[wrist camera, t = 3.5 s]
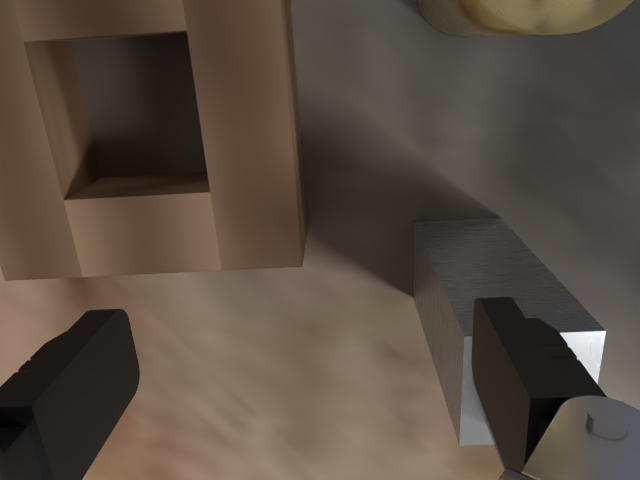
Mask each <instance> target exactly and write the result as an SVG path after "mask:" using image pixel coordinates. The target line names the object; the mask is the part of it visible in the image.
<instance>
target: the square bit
mask: <svg viewBox="0 0 640 480" xmlns="http://www.w3.org/2000/svg"><path fill="white" fill-rule="evenodd" d="M485 297H512V298H513V299H514V301H515V303H516V304H517V306H518V307H519V309H520V310H521V312H522V313H523V315H524V316H525V318H539V319H541V320H542V321H544V322H545V323H547V324H549V325H550V326H552V327H553V328H555V329H557V330H558V332H559V333H560V334H561V336H562V337H563V338H564V340H565V341H566V342H567V344H568V347H570V348H571V349H572V351H573V352H574V353H575V355H576V356H577V360H580V361H581V363H582V364H583V365H584V367H585V368H586V370H587V371H588V372H589V374H590V375H591V376H592V378H593V379H594V380H595V382H596V383H597V384H598V378H599V371H600V365H601V359H602V353H603V346H604V340H605V334H606V330H605V329H604V328H603V327H602V326H601V325H600V324H599V323H598V322H597V321H596V320H595V319H594V318H593V316H592V315H591V314H590V313H589V312H588V311H587V310H586V309H585V308H584V307H583V306H582V305H581V304H580V303H579V301H578V300H577V299H576V298H575V297H574V296H573V295H572V294H571V293H570V292H569V291H568V290H567V289H566V288H565V286H564V285H563V284H562V283H561V282H560V281H559V280H558V279H557V278H556V277H555V276H554V275H553V274H552V273H551V271H550V270H549V269H548V268H547V267H546V266H545V265H544V264H543V263H542V262H541V261H540V260H539V259H538V258H537V256H536V255H535V254H534V253H533V252H532V251H531V250H530V249H529V248H528V247H527V246H526V245H525V244H524V243H523V242H522V240H521V239H520V238H519V237H518V236H517V235H516V234H515V233H514V232H513V231H512V230H511V229H510V228H509V227H508V225H507V224H506V223H505V222H504V221H503V220H502V219H501V218H480V219H460V220H441V221H421V222H414V283H413V298H414V301H415V304H416V307H417V311H418V314H419V317H420V320H421V324H422V327H423V330H424V333H425V336H426V340H427V343H428V346H429V349H430V353H431V356H432V359H433V362H434V365H435V369H436V372H437V375H438V378H439V381H440V385H441V388H442V391H443V394H444V398H445V401H446V404H447V407H448V410H449V414H450V417H451V420H452V423H453V427H454V430H455V433H456V436H457V439H458V443H459V445H491V444H494V445H495V448H496V450H497V453H498V455H499V458H500V460H501V463H502V465H503V468H504V470H506V469H505V466H504V464H503V461H502V458H501V456H500V453H499V450H498V448H497V445H496V442H495V440H494V437H493V434H492V431H491V429H490V426H489V423H488V421H487V418H486V415H485V413H484V410H483V407H482V404H481V402H480V399H479V396H478V394H477V391H476V388H475V385H474V381H473V374H472V361H471V359H472V334H473V311H474V302H475V299H476V298H485Z"/></svg>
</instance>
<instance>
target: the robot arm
mask: <svg viewBox="0 0 640 480" xmlns="http://www.w3.org/2000/svg"><path fill="white" fill-rule="evenodd" d="M471 361H472V374H473V381H474V385H475V388H476V391H477V394H478V396H479V399H480V402H481V404H482V407H483V410H484V413H485V415H486V418H487V421H488V423H489V426H490V429H491V431H492V434H493V437H494V440H495V442H496V445H497V448H498V450H499V453H500V456H501V458H502V461H503V464H504V466H505V469H506V470H505V471H504V472H503V473H502V475H501V476H500V477H499V479H498V480H640V411H639V410H637V409H636V408H634V407H632V406H630V405H628V404H626V403H623V402H621V401H618V400H614V399H611V398H607V397H606V395H605V394H604V393H603V391H602V390H601V389H600V387H599V386H598V384H597V383H596V382H595V380H594V379H593V378H592V376H591V375H590V374H589V372H588V371H587V370H586V368H585V367H584V365H583V364H582V363H581V361H580V360H577V356H576V355H575V353H574V352H573V351H572V349H571V348H570V347H568V344H567V342H566V341H565V340H564V338H563V337H562V336H561V334H560V333H559V332H558V330H557V329H555V328H553V327H552V326H550V325H549V324H547V323H545V322H544V321H542V320H541V319H539V318H525V316H524V315H523V313H522V312H521V310H520V309H519V307H518V306H517V304H516V303H515V301H514V299H513V298H512V297H485V298H476V299H475V302H474V311H473V334H472V359H471ZM18 370H19V371H18V372H15V373H14V374H13V375H12V376H11V377H10V378H9V379H8V380H7V381H6V382H5V383H4V384H3V385H2V386H1V387H0V480H82V479H83V477H84V475H85V474H86V472H87V471H88V469H89V467H90V466H91V464H92V463H93V461H94V459H95V458H96V456H97V455H98V453H99V451H100V450H101V448H102V446H103V445H104V443H105V442H106V440H107V438H108V437H109V435H110V434H111V432H112V430H113V429H114V427H115V426H116V424H117V422H118V421H119V419H120V418H121V416H122V414H123V413H124V411H125V409H126V408H127V406H128V405H129V403H130V401H131V400H132V398H133V397H134V395H135V393H136V391H137V388H138V384H139V376H140V371H139V364H138V359H137V355H136V350H135V345H134V341H133V336H132V332H131V327H130V322H129V318H128V316H127V313H126V312H125V311H124V310H123V309H104V310H89V311H87V312H86V313H85V314H84V315H83V316H82V317H81V318H80V319H79V320H78V321H77V322H76V323H75V324H74V325H73V326H72V327H71V328H70V329H69V330H68V331H66V332H64V333H62V334H61V335H59V336H57V337H56V338H54V339H52V340H50V341H49V342H47V343H45V344H44V345H43V346H42V347H41V348H40V349H39V350H38V351H37V352H36V353H35V354H34V355H33V356H32V357H31V359H30V361H27V362H26V363H25V364H23V365H22V366H21V367H20V368H19V369H18Z"/></svg>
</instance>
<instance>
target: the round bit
mask: <svg viewBox="0 0 640 480" xmlns="http://www.w3.org/2000/svg"><path fill="white" fill-rule="evenodd" d="M633 1H634V0H417V4H418V7H419V9H420V11H421V13H422V15H423V16H424V18H425V19H426V20H427V21H428V22H429V24H431V25H432V26H433V27H434V28H436V29H437V30H439V31H441V32H443V33H445V34H448V35H453V36H496V35H551V34H571V33H578V32H581V31H585V30H589V29H591V28H594V27H596V26H598V25H601V24H603V23H604V22H606V21H608V20H610V19H612V18H613V17H614V16H616V15H617V14H619V13H620V12H621V11H623V10H624V9H625V8H626V7H627V6H628V5H629V4H631V3H632V2H633Z"/></svg>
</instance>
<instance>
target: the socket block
mask: <svg viewBox="0 0 640 480" xmlns="http://www.w3.org/2000/svg"><path fill="white" fill-rule="evenodd" d="M307 228H308V227H307V213H306V200H305V187H304V174H303V160H302V147H301V134H300V121H299V108H298V94H297V81H296V68H295V55H294V41H293V28H292V15H291V2H290V0H0V266H1V269H2V272H3V275H4V278H5V281H9V280H30V279H51V278H72V277H93V276H115V275H136V274H157V273H178V272H199V271H221V270H242V269H263V268H284V267H302V265H303V257H304V250H305V243H306V235H307Z"/></svg>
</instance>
